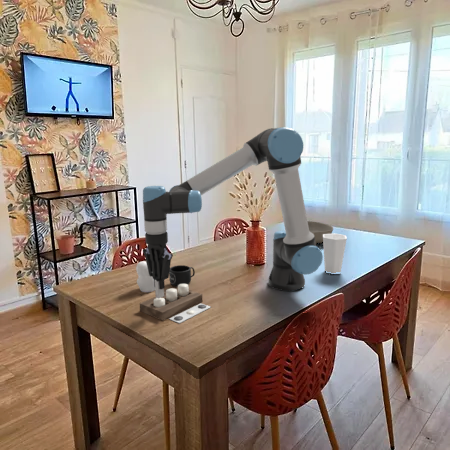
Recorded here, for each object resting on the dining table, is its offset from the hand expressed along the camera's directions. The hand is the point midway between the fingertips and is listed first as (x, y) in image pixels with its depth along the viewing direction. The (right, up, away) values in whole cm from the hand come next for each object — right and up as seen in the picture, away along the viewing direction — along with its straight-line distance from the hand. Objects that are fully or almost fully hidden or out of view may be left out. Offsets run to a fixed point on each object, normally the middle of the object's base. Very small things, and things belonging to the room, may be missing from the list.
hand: (159, 296), depth 138 cm
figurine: (-9, -1, +22) cm, 24 cm away
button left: (0, -5, +1) cm, 5 cm away
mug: (+5, 0, +28) cm, 29 cm away
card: (+11, -6, 0) cm, 12 cm away
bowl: (+73, +15, +94) cm, 120 cm away
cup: (+72, +3, +41) cm, 83 cm away
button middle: (+3, -2, +5) cm, 7 cm away
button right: (+7, -1, +10) cm, 12 cm away
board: (+4, -5, +6) cm, 8 cm away
